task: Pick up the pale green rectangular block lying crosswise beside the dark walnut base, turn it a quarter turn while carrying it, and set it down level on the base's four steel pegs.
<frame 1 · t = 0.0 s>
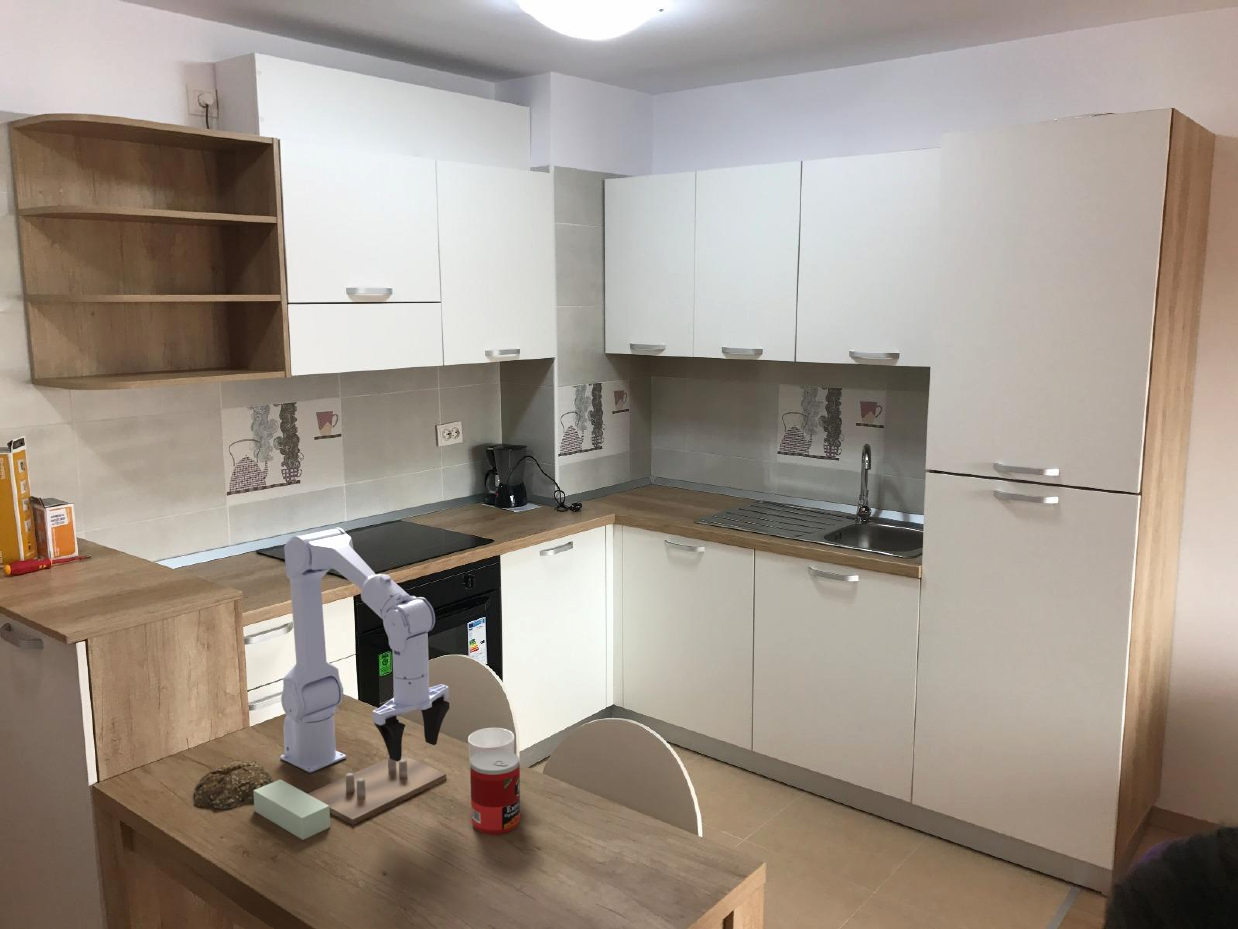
hand: (413, 751, 164), 10 cm above the table, tool pointing down, fingers open, 7 cm apart
pale green rectangular block: (291, 820, 162), on the table
peg base: (377, 789, 171), on the table
bread roll: (233, 794, 171), on the table
canned food: (495, 824, 161), on the table
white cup: (492, 792, 171), on the table
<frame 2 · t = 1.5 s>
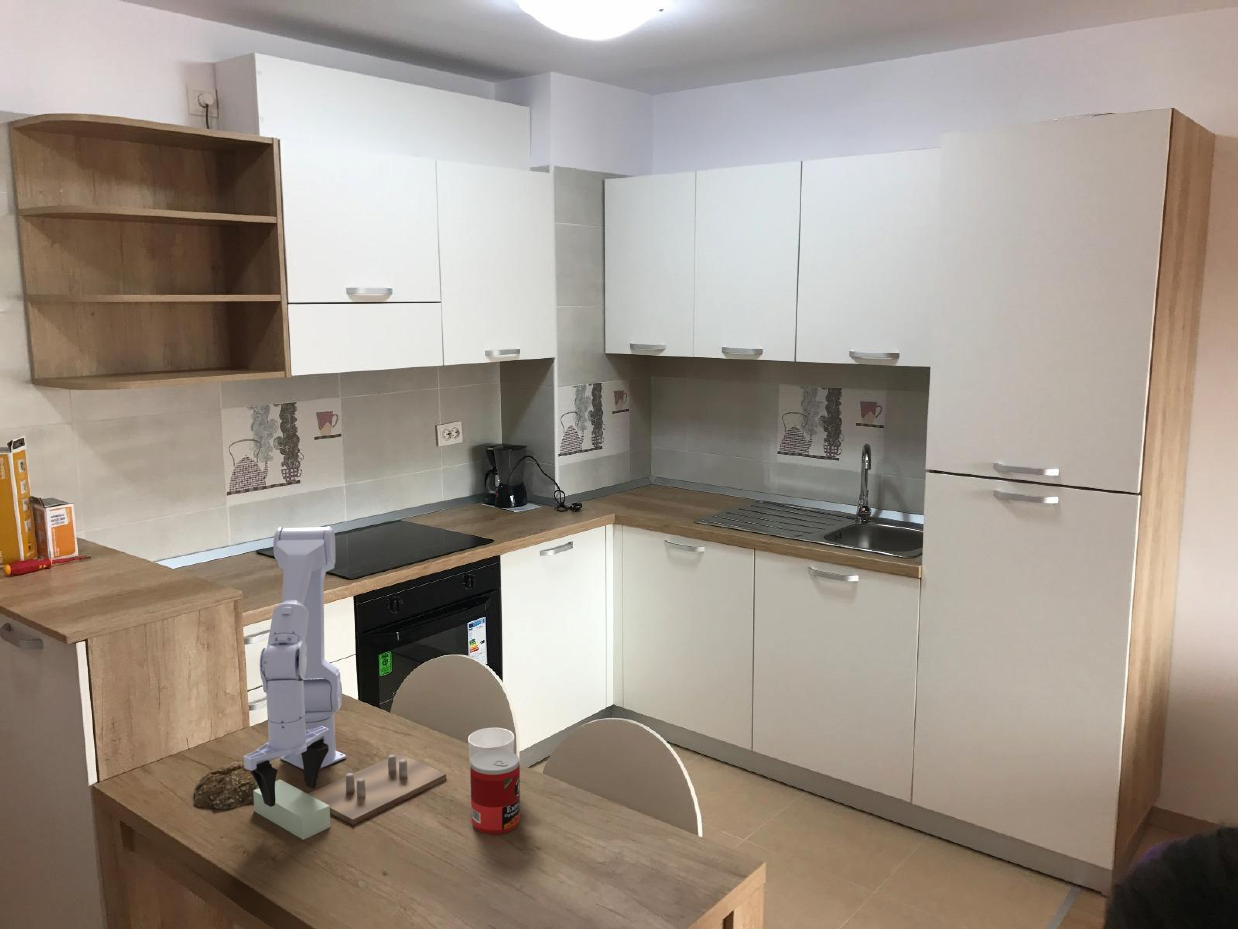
hand: (290, 795, 161), 4 cm above the table, tool pointing down, fingers open, 7 cm apart
nothing on the table moved.
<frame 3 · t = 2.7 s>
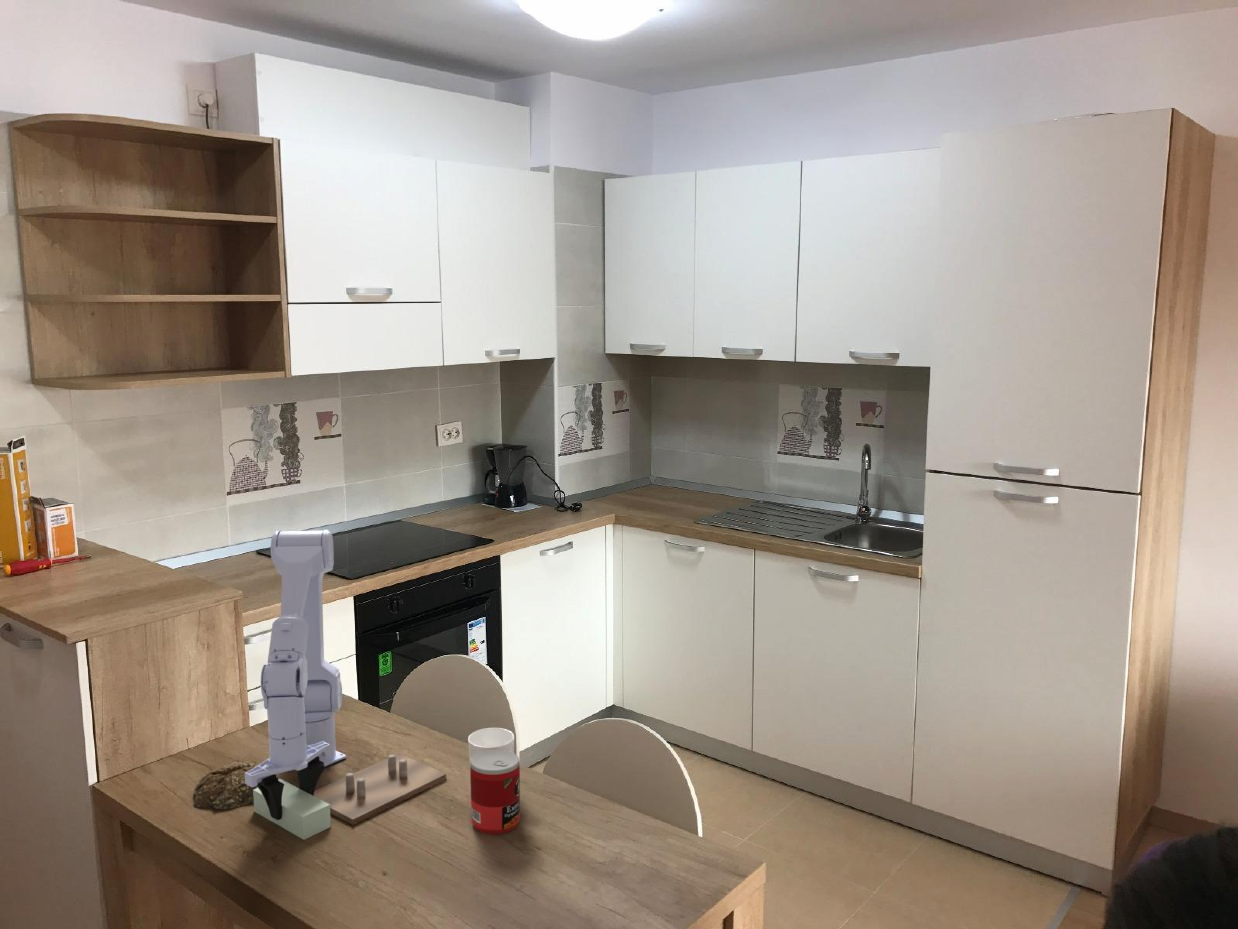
hand: (291, 810, 161), 1 cm above the table, tool pointing down, fingers closed on pale green rectangular block, 5 cm apart
pale green rectangular block: (292, 819, 161), on the table, touching gripper
everything else where it was.
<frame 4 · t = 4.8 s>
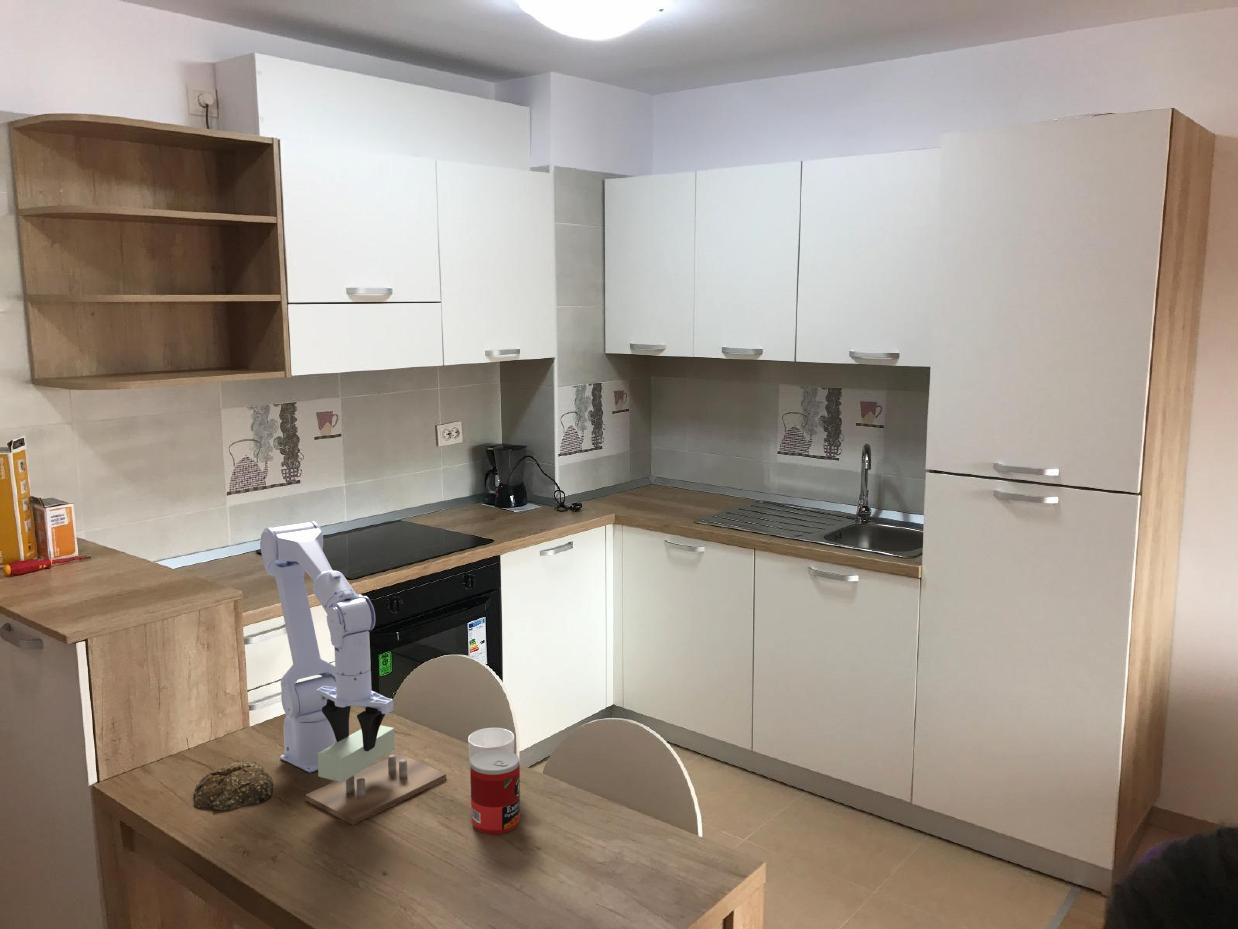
hand: (356, 745, 168), 9 cm above the table, tool pointing down, fingers closed on pale green rectangular block, 5 cm apart
pale green rectangular block: (357, 762, 168), point 6 cm above the table, touching gripper
everything else where it was.
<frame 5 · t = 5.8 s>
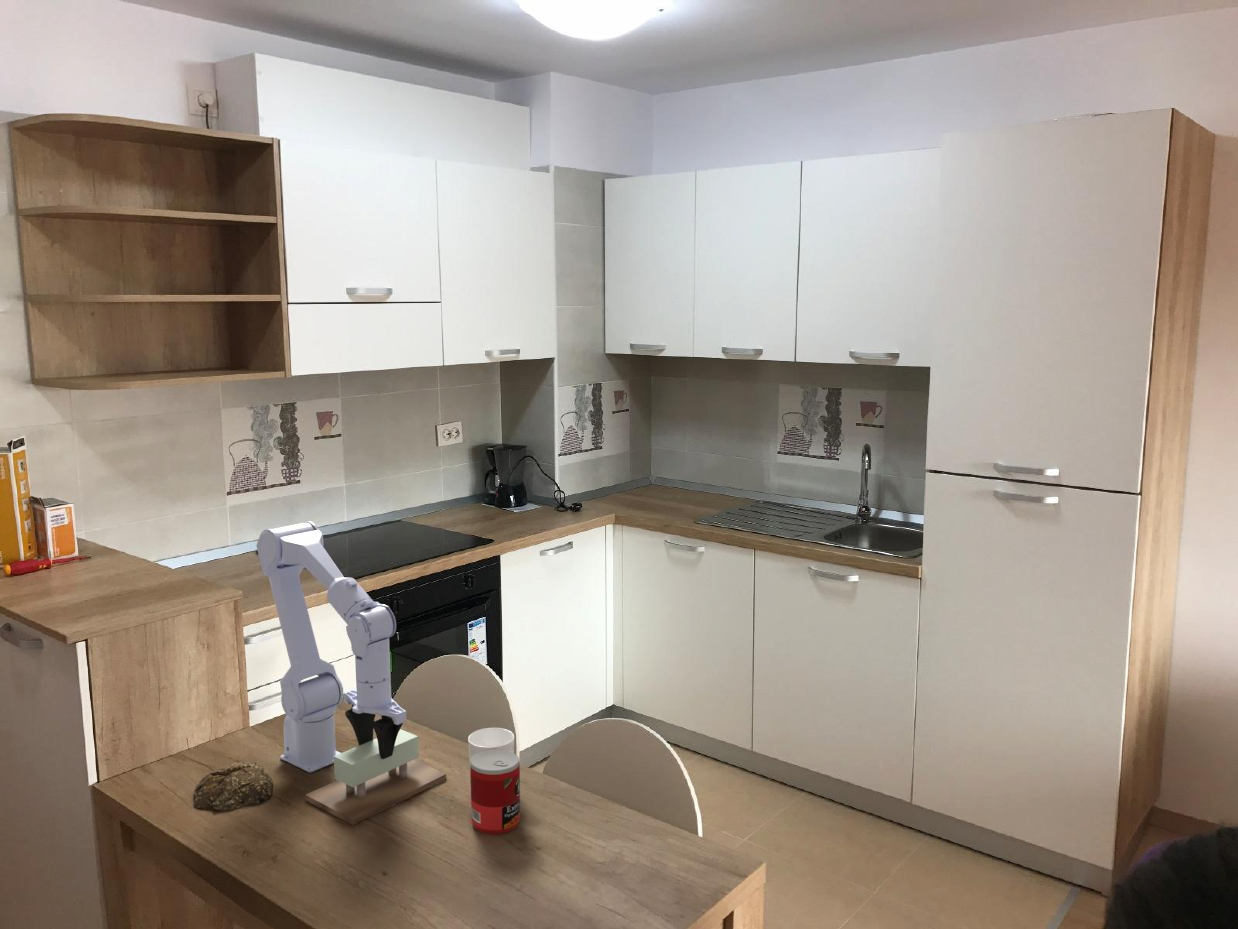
hand: (376, 752, 170), 7 cm above the table, tool pointing down, fingers closed on pale green rectangular block, 5 cm apart
pale green rectangular block: (377, 767, 171), point 4 cm above the table, touching gripper, peg base
everything else where it was.
when the fingers open (7 cm above the table, at t = 6.5 s): pale green rectangular block stays where it is, resting on peg base.
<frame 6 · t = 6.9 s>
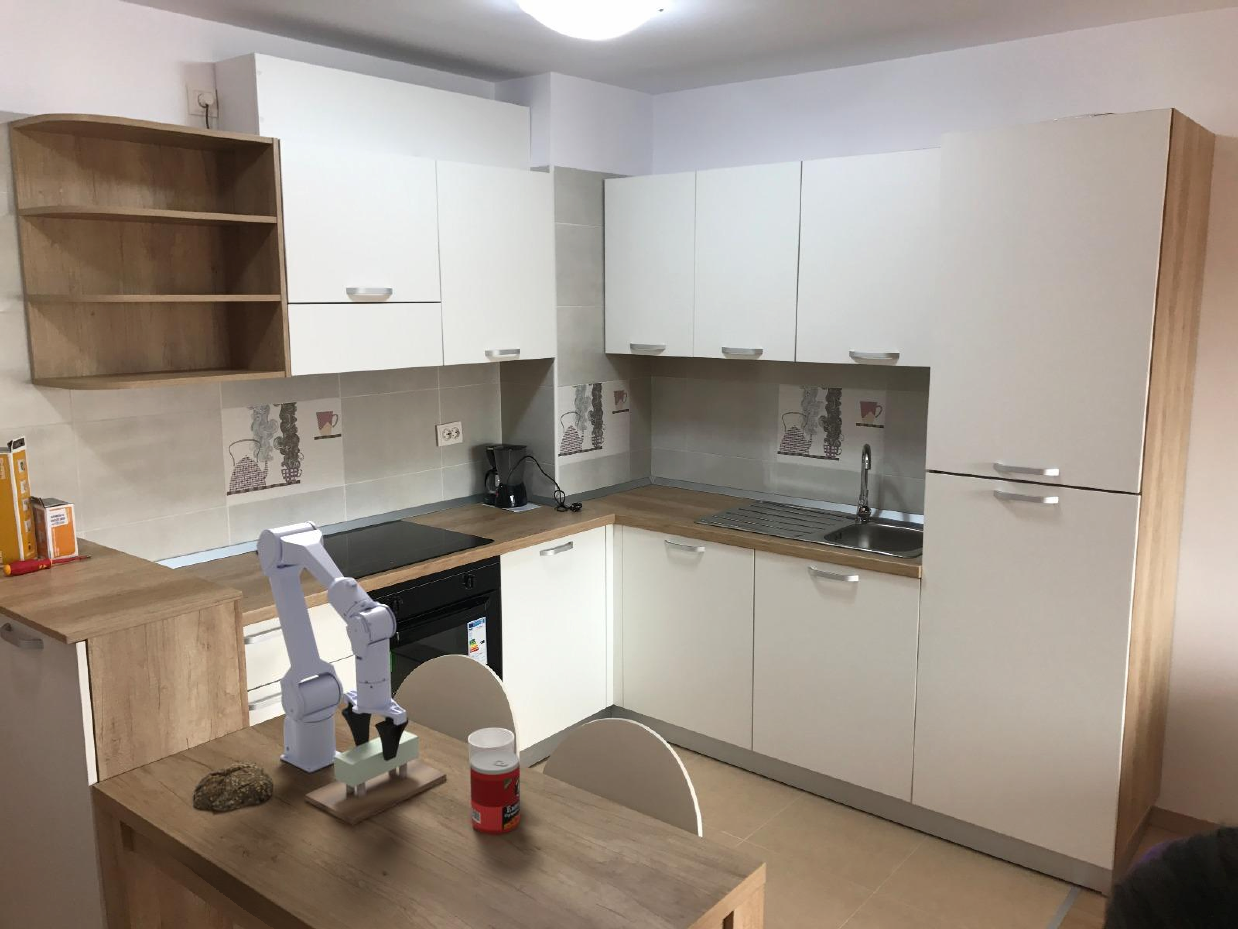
hand: (376, 752, 170), 7 cm above the table, tool pointing down, fingers open, 7 cm apart
pale green rectangular block: (377, 767, 171), point 4 cm above the table, touching peg base
everything else where it was.
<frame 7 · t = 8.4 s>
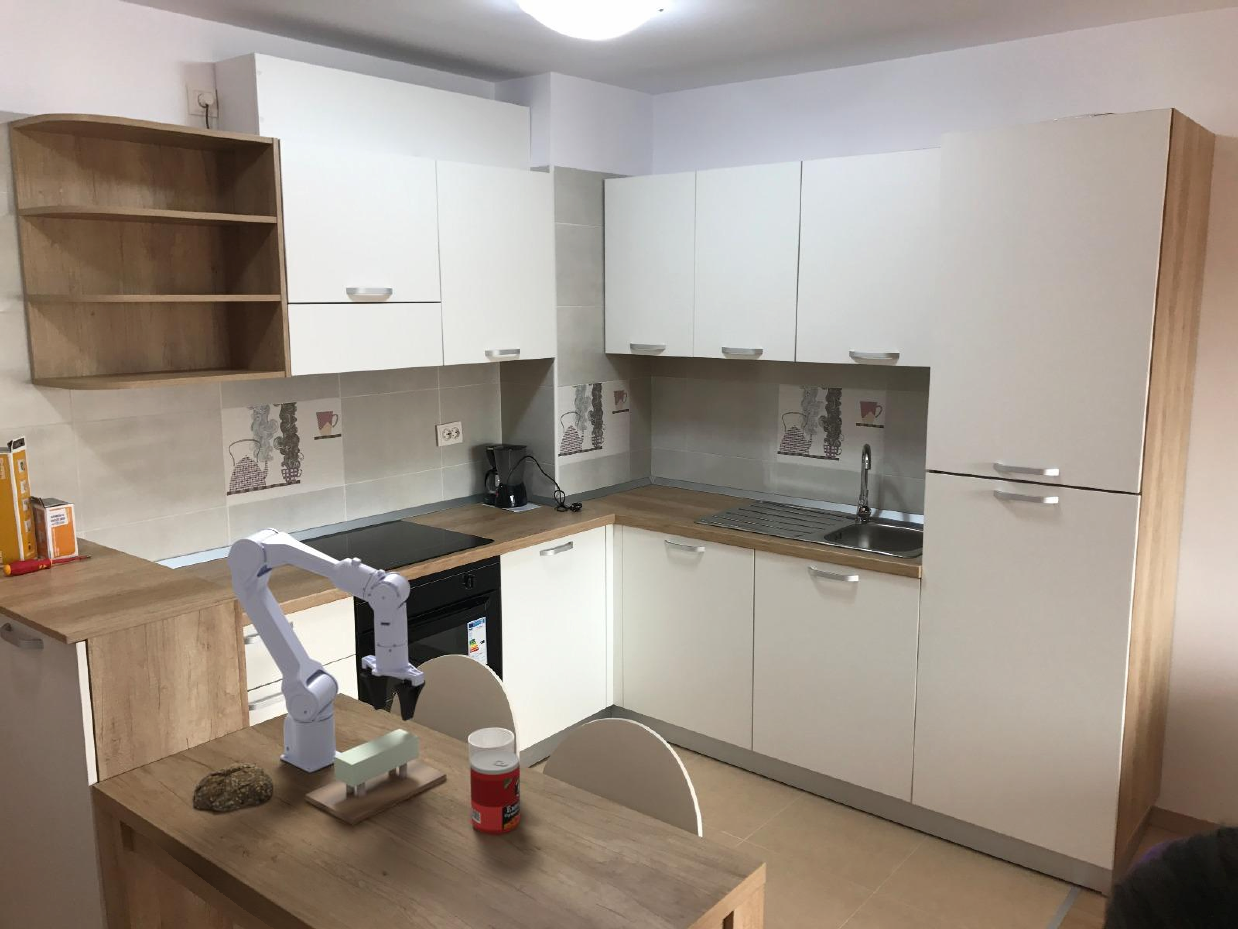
hand: (393, 713, 179), 10 cm above the table, tool pointing down, fingers open, 7 cm apart
nothing on the table moved.
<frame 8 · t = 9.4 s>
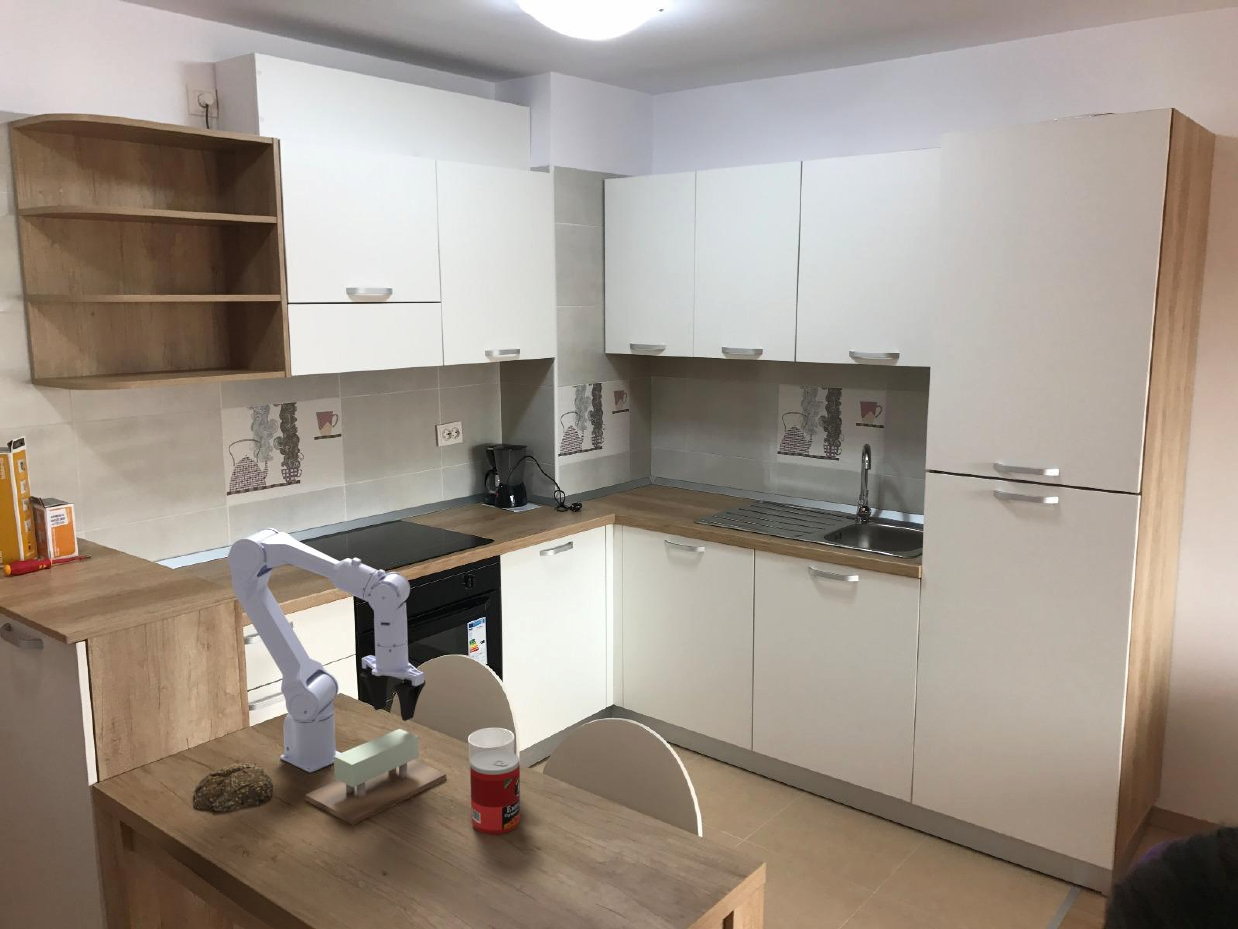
hand: (393, 713, 179), 10 cm above the table, tool pointing down, fingers open, 7 cm apart
nothing on the table moved.
at the end: pale green rectangular block 0.1 cm off-centre on the peg base, point 4.0 cm above the peg base's base; pale green rectangular block tilted 0°; the gripper is holding nothing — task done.
